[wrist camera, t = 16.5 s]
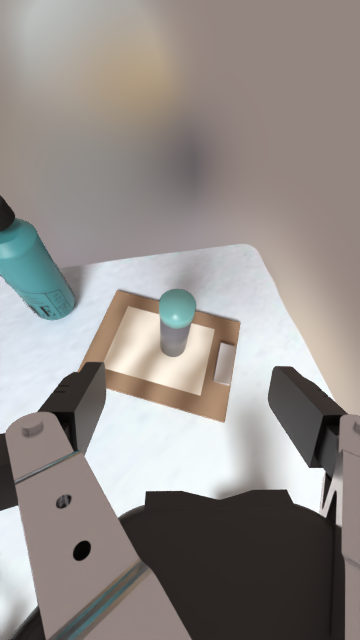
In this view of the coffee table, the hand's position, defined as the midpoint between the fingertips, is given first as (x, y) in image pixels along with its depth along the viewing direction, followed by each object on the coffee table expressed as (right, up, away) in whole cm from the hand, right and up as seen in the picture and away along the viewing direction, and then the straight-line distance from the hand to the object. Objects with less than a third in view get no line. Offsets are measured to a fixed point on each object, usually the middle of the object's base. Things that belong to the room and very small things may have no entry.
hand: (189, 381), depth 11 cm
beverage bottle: (-21, +5, +29) cm, 36 cm away
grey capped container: (-1, -1, +26) cm, 26 cm away
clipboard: (-3, -2, +27) cm, 27 cm away
